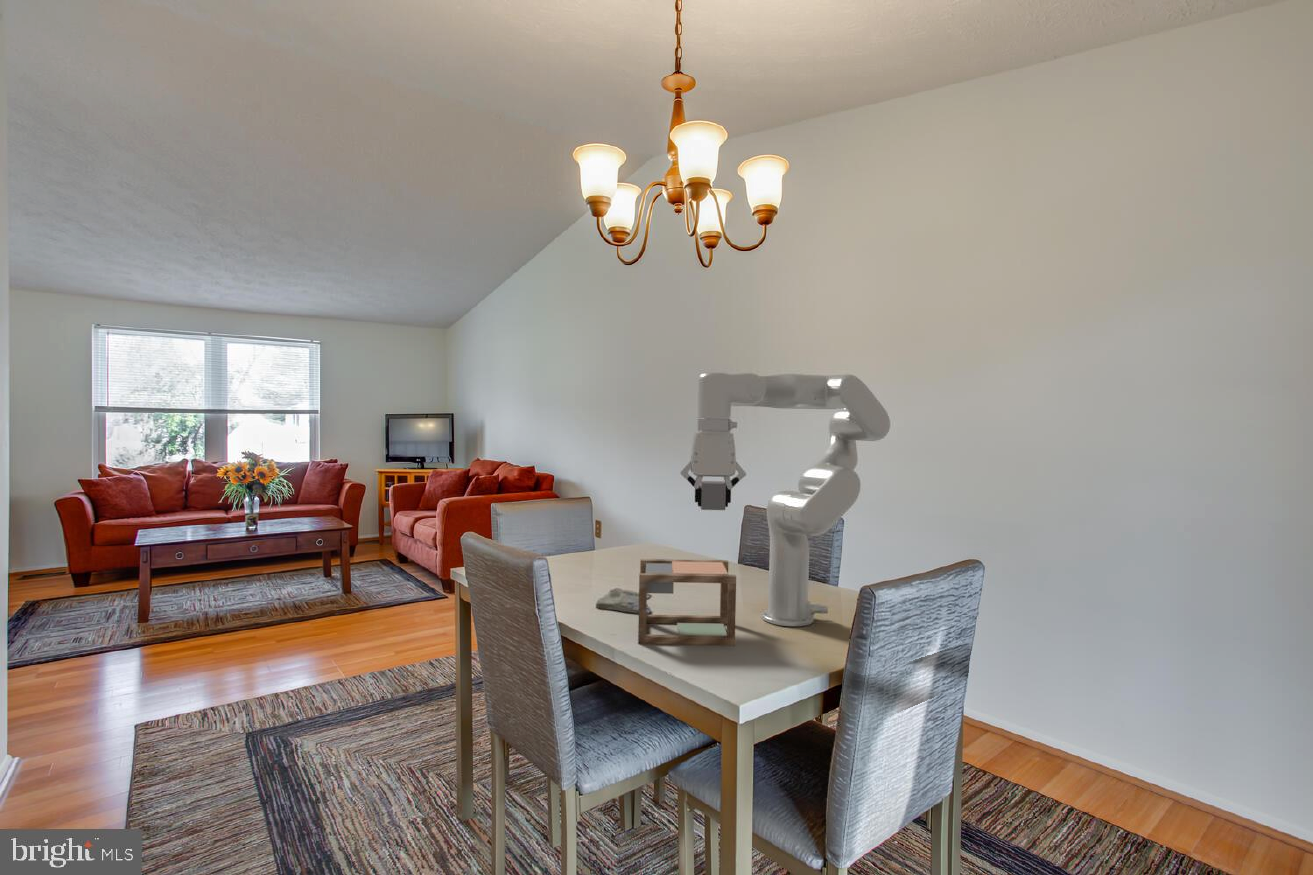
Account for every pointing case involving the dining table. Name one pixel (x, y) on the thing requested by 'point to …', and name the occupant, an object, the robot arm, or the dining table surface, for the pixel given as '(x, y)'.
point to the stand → (725, 615)
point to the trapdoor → (680, 572)
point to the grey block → (713, 495)
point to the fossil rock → (621, 601)
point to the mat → (701, 629)
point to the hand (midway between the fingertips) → (712, 505)
